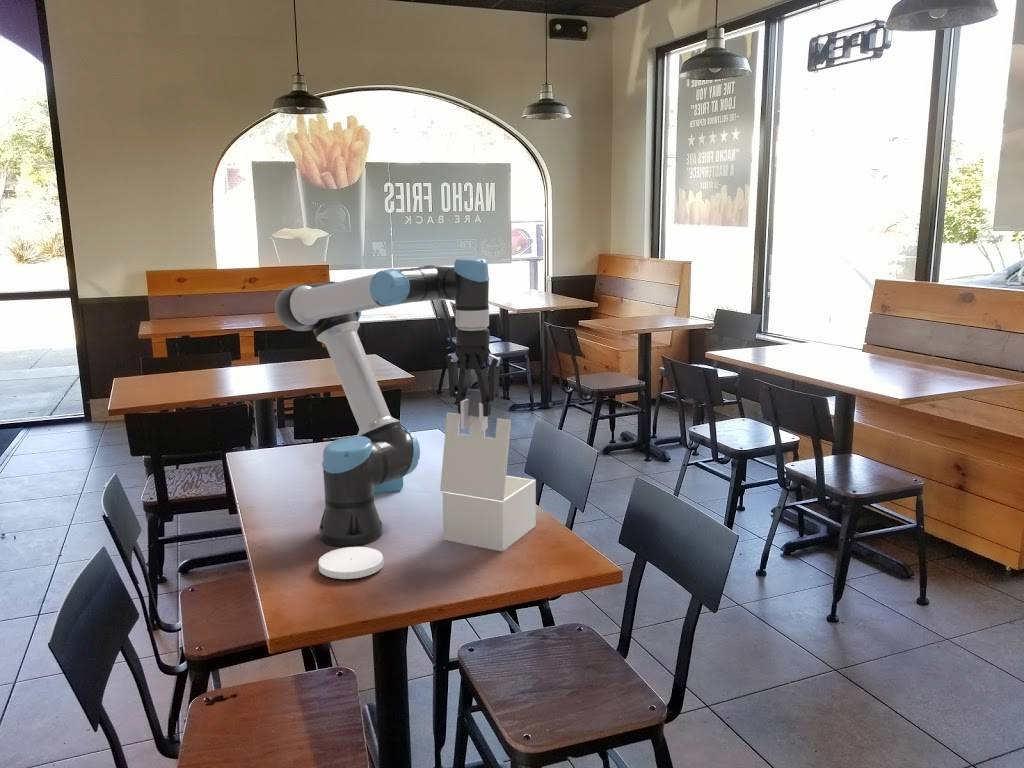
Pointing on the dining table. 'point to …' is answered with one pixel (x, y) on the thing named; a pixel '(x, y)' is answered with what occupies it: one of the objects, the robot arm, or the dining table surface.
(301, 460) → the dining table surface
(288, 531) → the dining table surface
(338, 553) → the plastic lid
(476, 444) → the carton flap
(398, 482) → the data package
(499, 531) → the carton
